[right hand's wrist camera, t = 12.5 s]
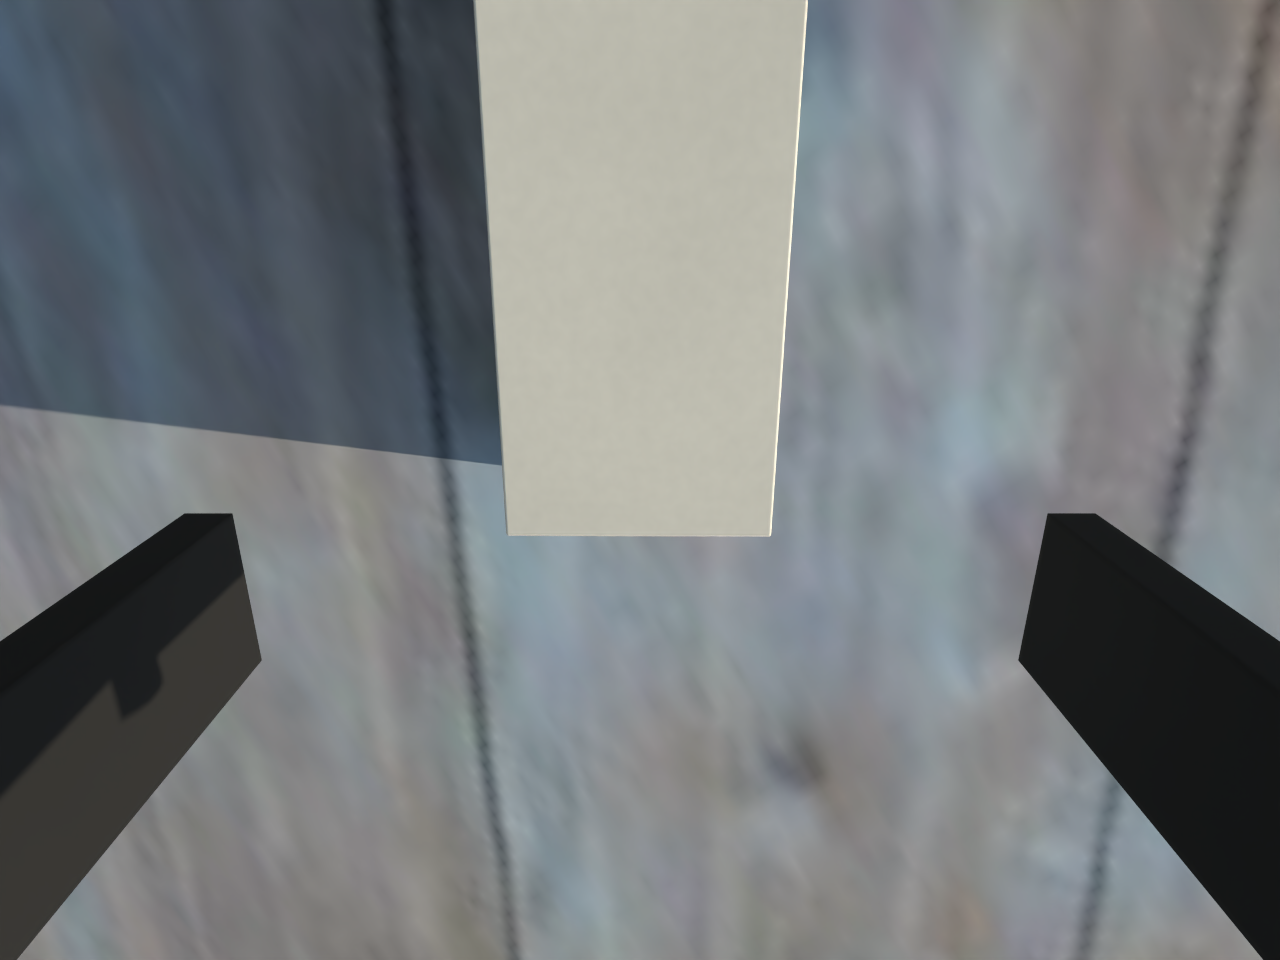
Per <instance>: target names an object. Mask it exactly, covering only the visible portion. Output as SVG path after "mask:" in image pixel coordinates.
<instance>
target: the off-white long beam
mask: <svg viewBox="0 0 1280 960" xmlns="http://www.w3.org/2000/svg"><path fill="white" fill-rule="evenodd" d="M473 2H474V18H475V34H476V51H477V67H478V83H479V99H480V115H481V132H482V148H483V164H484V180H485V196H486V212H487V229H488V245H489V261H490V277H491V293H492V310H493V326H494V342H495V358H496V374H497V391H498V407H499V423H500V439H501V455H502V471H503V488H504V504H505V520H506V534H507V535H508V536H749V537H769V536H770V535H771V527H772V512H773V498H774V483H775V469H776V454H777V440H778V425H779V411H780V396H781V382H782V367H783V353H784V338H785V323H786V309H787V294H788V280H789V265H790V251H791V236H792V222H793V207H794V193H795V178H796V164H797V149H798V135H799V120H800V106H801V91H802V77H803V62H804V48H805V33H806V19H807V4H808V0H473Z"/></svg>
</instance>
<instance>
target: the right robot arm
mask: <svg viewBox="0 0 1280 960" xmlns="http://www.w3.org/2000/svg"><path fill="white" fill-rule="evenodd" d="M260 662H261V655H260V650H259V645H258V640H257V635H256V630H255V625H254V620H253V615H252V610H251V605H250V600H249V595H248V590H247V585H246V580H245V575H244V570H243V565H242V560H241V555H240V550H239V545H238V540H237V535H236V530H235V525H234V520H233V515H232V514H183V515H182V516H180V517H179V518H178V519H176V520H175V521H173V522H172V523H170V524H169V525H167V526H166V527H165V528H163V529H162V530H160V531H159V532H157V533H156V534H154V535H153V536H152V537H150V538H149V539H147V540H146V541H144V542H143V543H142V544H140V545H139V546H137V547H136V548H134V549H133V550H131V551H130V552H129V553H127V554H126V555H124V556H123V557H121V558H120V559H118V560H117V561H116V562H114V563H113V564H111V565H110V566H108V567H107V568H105V569H104V570H103V571H101V572H100V573H98V574H97V575H95V576H94V577H92V578H91V579H90V580H88V581H87V582H85V583H84V584H82V585H81V586H80V587H78V588H77V589H75V590H74V591H72V592H71V593H69V594H68V595H67V596H65V597H64V598H62V599H61V600H59V601H58V602H56V603H55V604H54V605H52V606H51V607H49V608H48V609H46V610H45V611H43V612H42V613H41V614H39V615H38V616H36V617H35V618H33V619H32V620H30V621H29V622H28V623H26V624H25V625H23V626H22V627H20V628H19V629H18V630H16V631H15V632H13V633H12V634H10V635H9V636H7V637H6V638H5V639H3V640H2V641H0V960H17V959H18V957H19V956H20V955H21V954H22V953H23V951H24V950H25V949H26V948H27V946H28V945H29V944H30V943H31V942H32V940H33V939H34V938H35V937H36V935H37V934H38V933H39V932H40V931H41V929H42V928H43V927H44V926H45V924H46V923H47V922H48V921H49V920H50V918H51V917H52V916H53V915H54V913H55V912H56V911H57V910H58V909H59V907H60V906H61V905H62V904H63V902H64V901H65V900H66V899H67V898H68V896H69V895H70V894H71V893H72V891H73V890H74V889H75V888H76V887H77V885H78V884H79V883H80V882H81V880H82V879H83V878H84V877H85V876H86V874H87V873H88V872H89V871H90V869H91V868H92V867H93V866H94V865H95V863H96V862H97V861H98V860H99V858H100V857H101V856H102V855H103V854H104V852H105V851H106V850H107V849H108V847H109V846H110V845H111V844H112V843H113V841H114V840H115V839H116V838H117V836H118V835H119V834H120V833H121V832H122V830H123V829H124V828H125V827H126V825H127V824H128V823H129V822H130V821H131V819H132V818H133V817H134V816H135V814H136V813H137V812H138V811H139V810H140V808H141V807H142V806H143V805H144V803H145V802H146V801H147V800H148V799H149V797H150V796H151V795H152V794H153V792H154V791H155V790H156V789H157V788H158V786H159V785H160V784H161V783H162V781H163V780H164V779H165V778H166V777H167V775H168V774H169V773H170V772H171V770H172V769H173V768H174V767H175V766H176V764H177V763H178V762H179V761H180V759H181V758H182V757H183V756H184V755H185V753H186V752H187V751H188V750H189V748H190V747H191V746H192V745H193V744H194V742H195V741H196V740H197V739H198V737H199V736H200V735H201V734H202V733H203V731H204V730H205V729H206V728H207V726H208V725H209V724H210V723H211V722H212V720H213V719H214V718H215V717H216V715H217V714H218V713H219V712H220V711H221V709H222V708H223V707H224V706H225V704H226V703H227V702H228V701H229V700H230V698H231V697H232V696H233V695H234V693H235V692H236V691H237V690H238V689H239V687H240V686H241V685H242V684H243V682H244V681H245V680H246V679H247V678H248V676H249V675H250V674H251V673H252V671H253V670H254V669H255V668H256V667H257V665H258V664H259V663H260ZM1019 662H1020V663H1021V664H1022V665H1023V667H1024V668H1025V669H1026V670H1027V671H1028V673H1029V674H1030V675H1031V676H1032V678H1033V679H1034V680H1035V681H1036V682H1037V684H1038V685H1039V686H1040V687H1041V689H1042V690H1043V691H1044V692H1045V693H1046V695H1047V696H1048V697H1049V698H1050V700H1051V701H1052V702H1053V703H1054V704H1055V706H1056V707H1057V708H1058V709H1059V711H1060V712H1061V713H1062V714H1063V715H1064V717H1065V718H1066V719H1067V720H1068V722H1069V723H1070V724H1071V725H1072V726H1073V728H1074V729H1075V730H1076V731H1077V733H1078V734H1079V735H1080V736H1081V737H1082V739H1083V740H1084V741H1085V742H1086V744H1087V745H1088V746H1089V747H1090V748H1091V750H1092V751H1093V752H1094V753H1095V755H1096V756H1097V757H1098V758H1099V759H1100V761H1101V762H1102V763H1103V764H1104V766H1105V767H1106V768H1107V769H1108V770H1109V772H1110V773H1111V774H1112V775H1113V777H1114V778H1115V779H1116V780H1117V781H1118V783H1119V784H1120V785H1121V786H1122V788H1123V789H1124V790H1125V791H1126V792H1127V794H1128V795H1129V796H1130V797H1131V799H1132V800H1133V801H1134V802H1135V803H1136V805H1137V806H1138V807H1139V808H1140V810H1141V811H1142V812H1143V813H1144V814H1145V816H1146V817H1147V818H1148V819H1149V821H1150V822H1151V823H1152V824H1153V825H1154V827H1155V828H1156V829H1157V830H1158V832H1159V833H1160V834H1161V835H1162V836H1163V838H1164V839H1165V840H1166V841H1167V843H1168V844H1169V845H1170V846H1171V847H1172V849H1173V850H1174V851H1175V852H1176V854H1177V855H1178V856H1179V857H1180V858H1181V860H1182V861H1183V862H1184V863H1185V865H1186V866H1187V867H1188V868H1189V869H1190V871H1191V872H1192V873H1193V874H1194V876H1195V877H1196V878H1197V879H1198V880H1199V882H1200V883H1201V884H1202V885H1203V887H1204V888H1205V889H1206V890H1207V891H1208V893H1209V894H1210V895H1211V896H1212V898H1213V899H1214V900H1215V901H1216V902H1217V904H1218V905H1219V906H1220V907H1221V909H1222V910H1223V911H1224V912H1225V913H1226V915H1227V916H1228V917H1229V918H1230V920H1231V921H1232V922H1233V923H1234V924H1235V926H1236V927H1237V928H1238V929H1239V931H1240V932H1241V933H1242V934H1243V935H1244V937H1245V938H1246V939H1247V940H1248V942H1249V943H1250V944H1251V945H1252V946H1253V948H1254V949H1255V950H1256V951H1257V953H1258V954H1259V955H1260V956H1261V957H1262V959H1263V960H1280V641H1278V640H1277V639H1275V638H1274V637H1273V636H1271V635H1270V634H1268V633H1267V632H1265V631H1264V630H1262V629H1261V628H1260V627H1258V626H1257V625H1255V624H1254V623H1252V622H1251V621H1250V620H1248V619H1247V618H1245V617H1244V616H1242V615H1241V614H1239V613H1238V612H1237V611H1235V610H1234V609H1232V608H1231V607H1229V606H1228V605H1226V604H1225V603H1224V602H1222V601H1221V600H1219V599H1218V598H1216V597H1215V596H1213V595H1212V594H1211V593H1209V592H1208V591H1206V590H1205V589H1203V588H1202V587H1200V586H1199V585H1198V584H1196V583H1195V582H1193V581H1192V580H1190V579H1189V578H1188V577H1186V576H1185V575H1183V574H1182V573H1180V572H1179V571H1177V570H1176V569H1175V568H1173V567H1172V566H1170V565H1169V564H1167V563H1166V562H1164V561H1163V560H1162V559H1160V558H1159V557H1157V556H1156V555H1154V554H1153V553H1151V552H1150V551H1149V550H1147V549H1146V548H1144V547H1143V546H1141V545H1140V544H1138V543H1137V542H1136V541H1134V540H1133V539H1131V538H1130V537H1128V536H1127V535H1126V534H1124V533H1123V532H1121V531H1120V530H1118V529H1117V528H1115V527H1114V526H1113V525H1111V524H1110V523H1108V522H1107V521H1105V520H1104V519H1102V518H1101V517H1100V516H1098V515H1097V514H1048V515H1047V520H1046V525H1045V530H1044V535H1043V540H1042V545H1041V550H1040V555H1039V560H1038V565H1037V570H1036V575H1035V580H1034V585H1033V590H1032V595H1031V600H1030V605H1029V610H1028V615H1027V620H1026V625H1025V630H1024V635H1023V640H1022V645H1021V650H1020V655H1019Z"/></svg>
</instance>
